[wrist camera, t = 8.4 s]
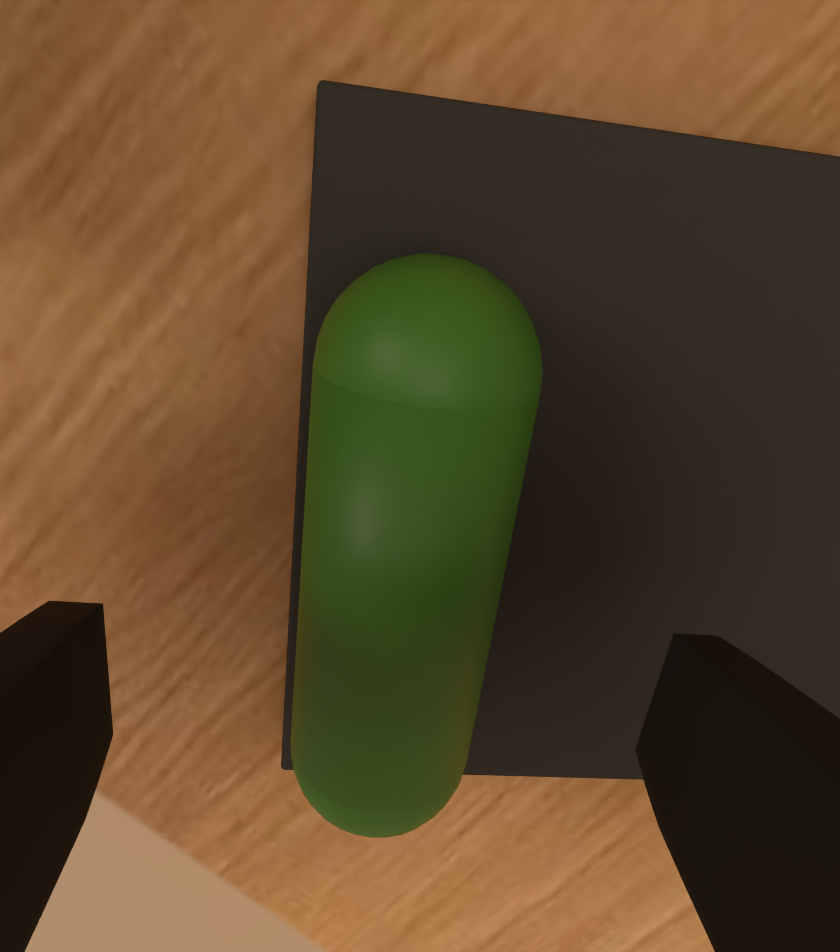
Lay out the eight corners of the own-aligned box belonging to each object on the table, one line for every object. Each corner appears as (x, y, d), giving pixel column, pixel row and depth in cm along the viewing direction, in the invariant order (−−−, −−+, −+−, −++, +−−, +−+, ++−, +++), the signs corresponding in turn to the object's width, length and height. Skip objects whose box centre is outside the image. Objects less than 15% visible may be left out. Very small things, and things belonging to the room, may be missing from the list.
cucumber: (436, 733, 15) (475, 871, 12) (285, 741, 14) (287, 889, 11) (518, 253, 11) (606, 286, 8) (314, 230, 10) (327, 257, 7)
